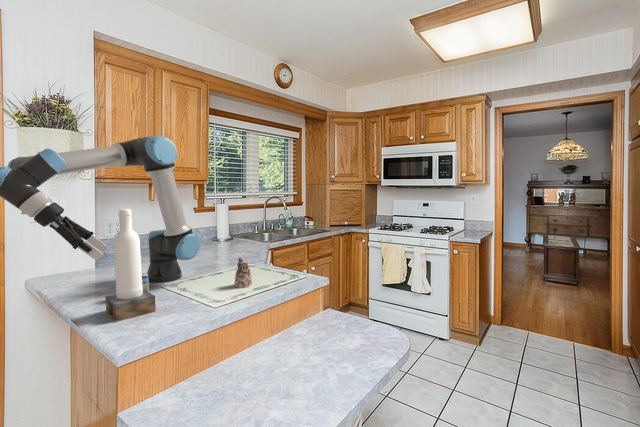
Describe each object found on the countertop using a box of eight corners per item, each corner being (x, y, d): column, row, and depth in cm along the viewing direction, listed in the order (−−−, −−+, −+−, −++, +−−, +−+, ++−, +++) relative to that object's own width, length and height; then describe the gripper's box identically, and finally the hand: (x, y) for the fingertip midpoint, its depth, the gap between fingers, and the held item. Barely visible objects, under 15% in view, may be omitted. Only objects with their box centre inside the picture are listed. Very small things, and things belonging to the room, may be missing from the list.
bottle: (121, 301, 111) (116, 210, 109) (112, 296, 117) (107, 209, 114) (146, 295, 117) (142, 209, 115) (137, 291, 123) (132, 208, 120)
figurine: (239, 288, 143) (239, 260, 142) (231, 285, 148) (231, 258, 147) (254, 285, 147) (254, 258, 146) (246, 282, 153) (245, 255, 152)
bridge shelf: (143, 303, 126) (142, 288, 126) (155, 311, 118) (154, 295, 117) (106, 311, 118) (105, 296, 117) (116, 321, 109) (115, 304, 109)
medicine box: (126, 300, 129) (124, 278, 129) (126, 297, 133) (125, 275, 132) (149, 297, 133) (148, 275, 132) (149, 293, 137) (147, 272, 136)
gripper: (44, 215, 115) (99, 255, 123) (18, 222, 93) (87, 270, 100) (62, 199, 117) (115, 239, 125) (41, 202, 94) (107, 251, 102)
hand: (103, 253), depth 113 cm, fingers open, 13 cm apart
